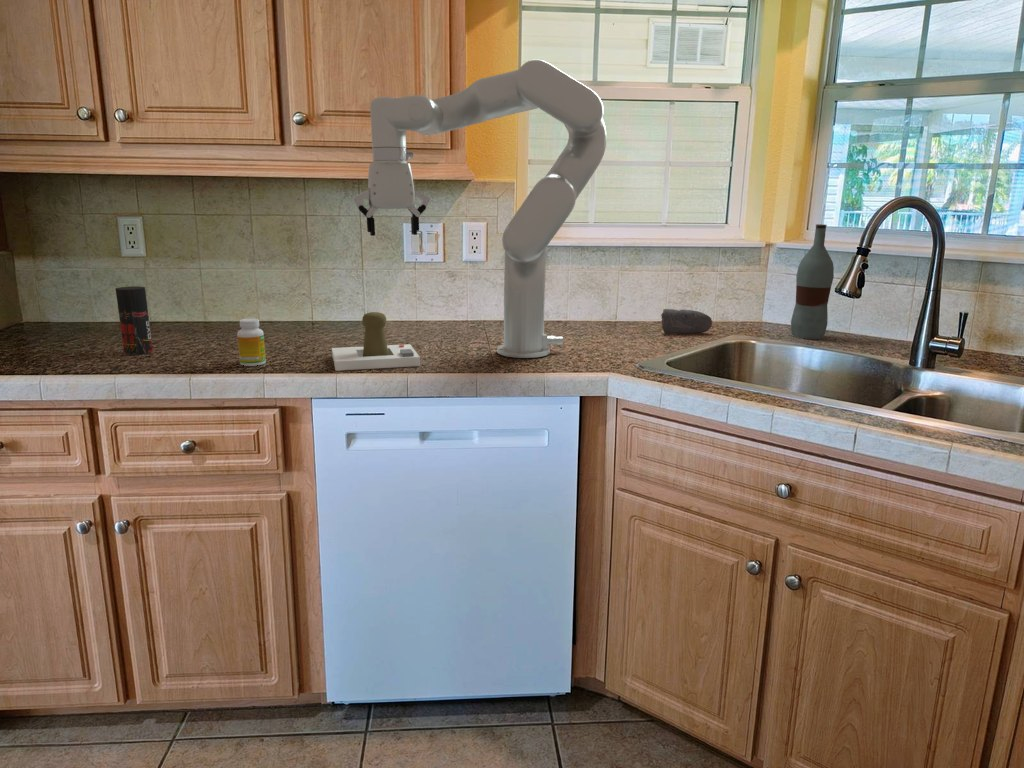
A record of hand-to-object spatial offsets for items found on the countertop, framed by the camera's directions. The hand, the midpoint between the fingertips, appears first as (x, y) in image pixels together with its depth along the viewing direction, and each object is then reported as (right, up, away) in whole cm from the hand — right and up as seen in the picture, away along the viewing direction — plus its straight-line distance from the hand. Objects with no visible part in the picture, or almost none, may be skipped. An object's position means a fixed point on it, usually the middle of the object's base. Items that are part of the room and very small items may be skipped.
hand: (393, 234), depth 159 cm
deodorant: (-60, -27, +1) cm, 66 cm away
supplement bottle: (-30, -30, -8) cm, 43 cm away
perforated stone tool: (+75, -21, +32) cm, 84 cm away
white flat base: (-3, -29, -4) cm, 30 cm away
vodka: (+108, -22, +30) cm, 114 cm away
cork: (-3, -30, -4) cm, 30 cm away
